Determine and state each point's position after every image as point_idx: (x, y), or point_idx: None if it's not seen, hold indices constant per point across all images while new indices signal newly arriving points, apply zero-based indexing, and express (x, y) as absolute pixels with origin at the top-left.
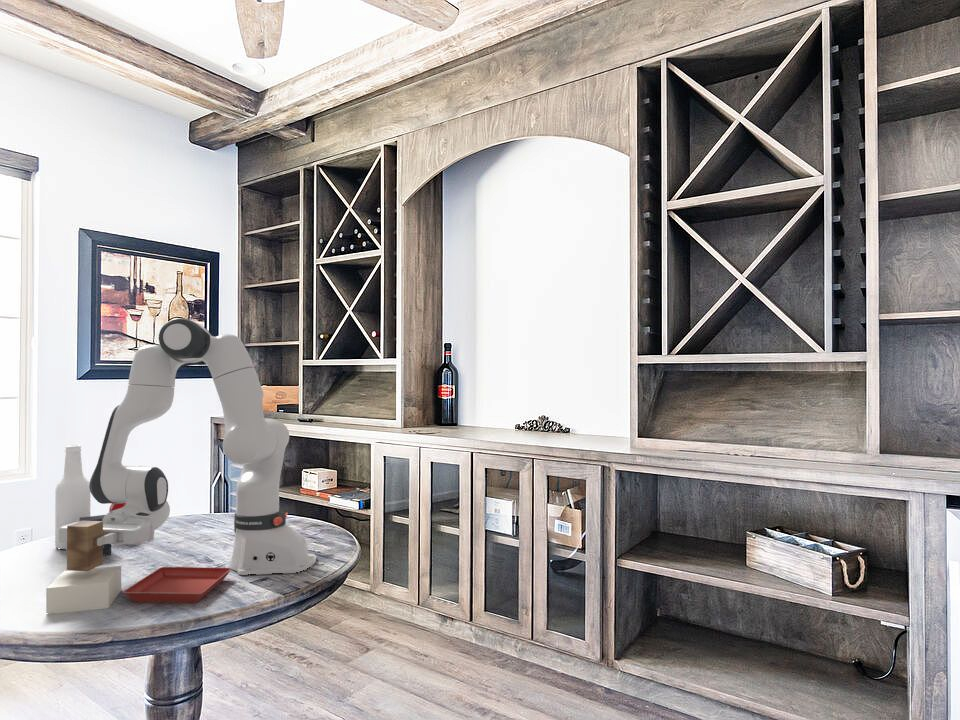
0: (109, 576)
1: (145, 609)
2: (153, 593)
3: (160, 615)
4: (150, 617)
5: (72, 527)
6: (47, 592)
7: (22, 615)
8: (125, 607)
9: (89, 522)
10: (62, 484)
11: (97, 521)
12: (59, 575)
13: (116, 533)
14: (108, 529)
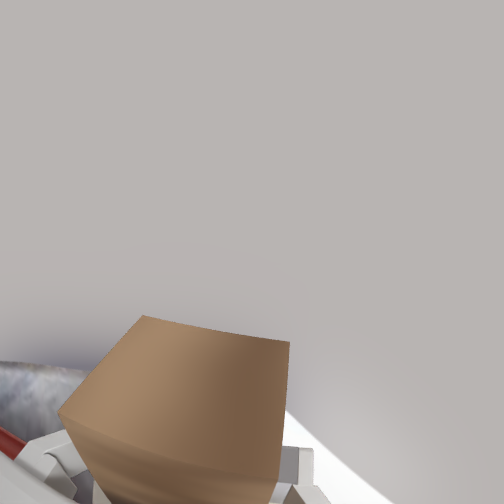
0: (105, 495)
1: (37, 436)
2: (10, 433)
3: (19, 397)
4: (34, 396)
5: (248, 342)
6: None
7: (316, 469)
8: None
9: (166, 405)
10: None
11: (101, 417)
12: None
13: (15, 462)
14: (52, 492)
